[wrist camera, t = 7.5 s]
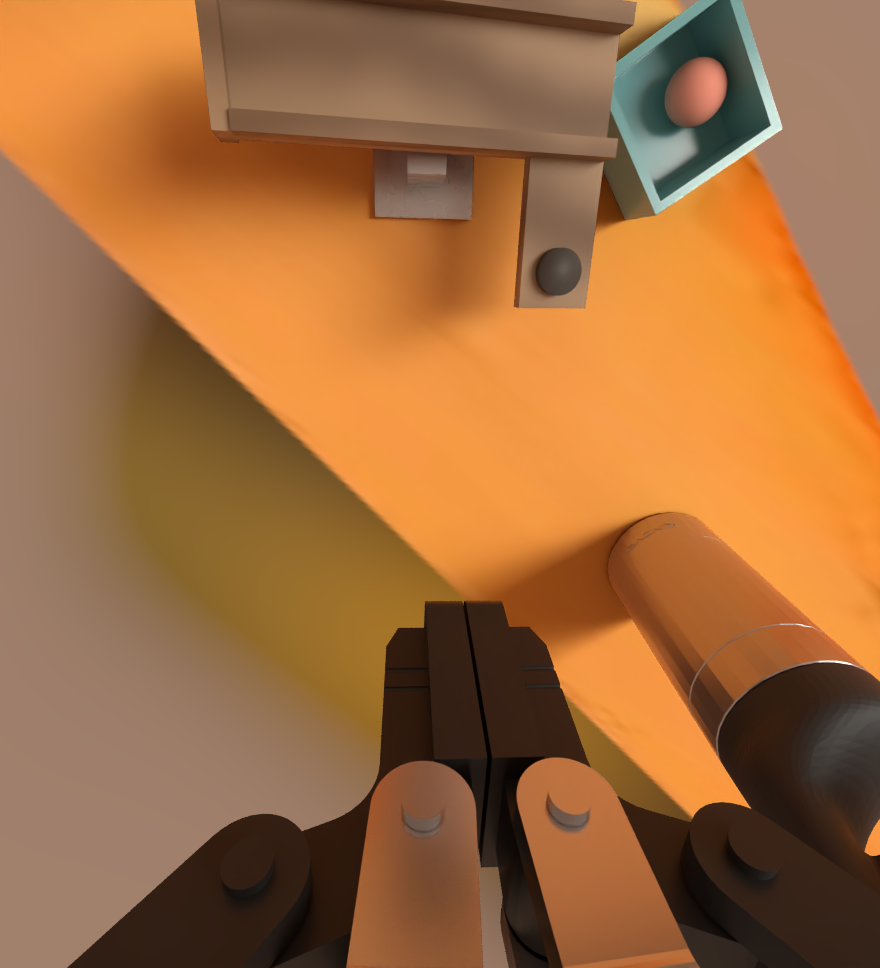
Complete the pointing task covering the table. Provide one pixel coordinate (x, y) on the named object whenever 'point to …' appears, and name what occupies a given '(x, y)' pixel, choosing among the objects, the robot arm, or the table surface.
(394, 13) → the lever
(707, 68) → the ball
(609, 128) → the teal square bin
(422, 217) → the fulcrum
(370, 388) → the table surface
